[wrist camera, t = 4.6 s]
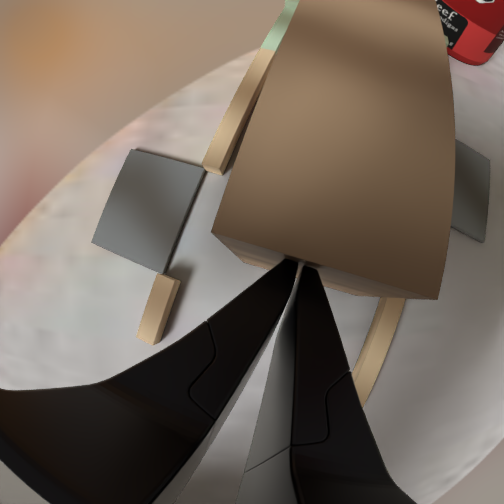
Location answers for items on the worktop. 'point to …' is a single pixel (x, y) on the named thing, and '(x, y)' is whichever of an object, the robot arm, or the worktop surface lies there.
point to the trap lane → (216, 159)
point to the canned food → (472, 28)
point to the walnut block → (350, 151)
